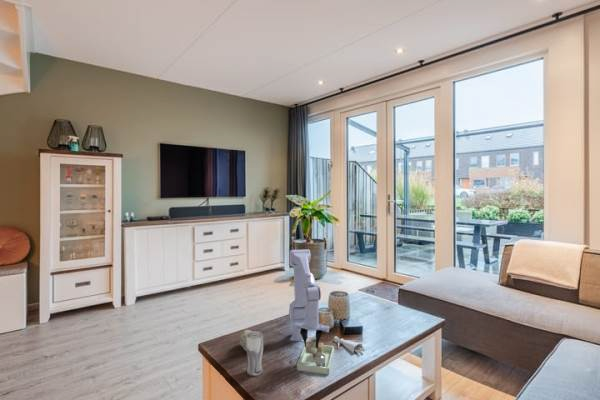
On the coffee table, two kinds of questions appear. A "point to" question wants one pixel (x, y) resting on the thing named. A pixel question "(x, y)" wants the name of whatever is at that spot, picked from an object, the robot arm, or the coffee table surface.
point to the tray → (308, 362)
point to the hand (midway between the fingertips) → (311, 346)
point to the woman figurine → (350, 344)
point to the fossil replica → (244, 338)
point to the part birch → (311, 345)
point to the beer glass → (254, 352)
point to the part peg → (320, 360)
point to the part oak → (319, 349)
